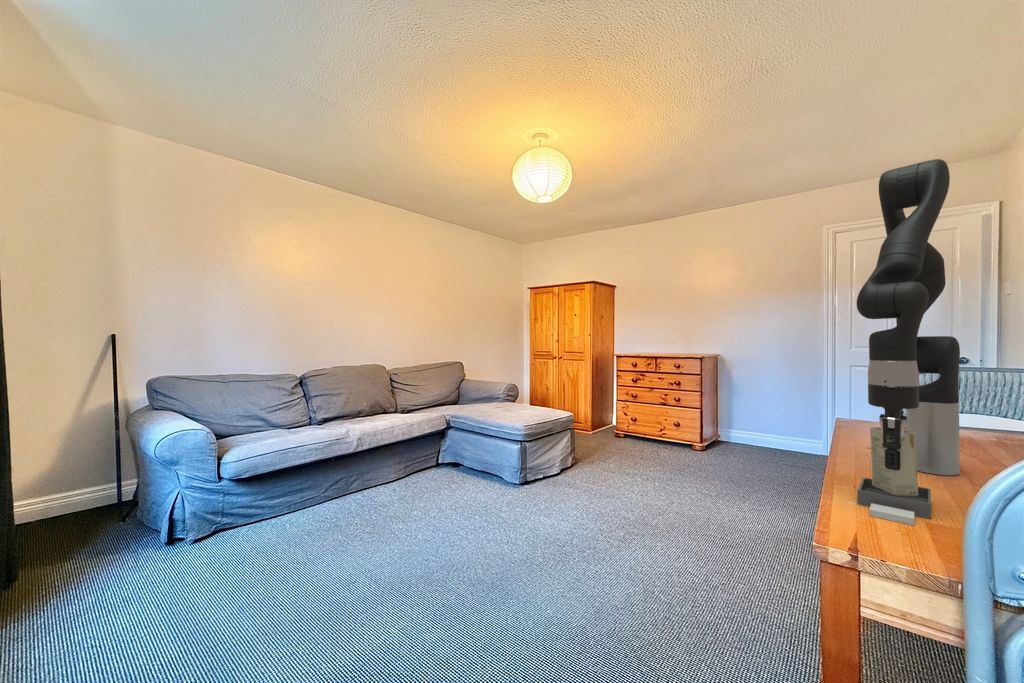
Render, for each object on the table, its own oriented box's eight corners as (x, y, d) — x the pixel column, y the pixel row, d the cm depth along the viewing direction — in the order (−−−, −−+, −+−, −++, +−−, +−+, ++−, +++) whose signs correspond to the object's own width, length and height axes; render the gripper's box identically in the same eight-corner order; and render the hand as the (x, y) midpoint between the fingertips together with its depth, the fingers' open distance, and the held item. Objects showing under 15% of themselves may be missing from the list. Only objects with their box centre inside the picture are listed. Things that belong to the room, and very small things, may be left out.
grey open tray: (863, 490, 90) (862, 477, 90) (930, 502, 83) (930, 488, 83) (854, 512, 79) (854, 497, 79) (931, 529, 72) (931, 513, 72)
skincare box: (919, 496, 80) (918, 433, 80) (894, 496, 80) (893, 433, 80) (892, 485, 86) (892, 426, 86) (870, 484, 87) (869, 426, 87)
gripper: (871, 379, 91) (872, 454, 91) (864, 384, 81) (865, 469, 81) (919, 381, 85) (920, 460, 85) (918, 387, 75) (919, 477, 75)
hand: (893, 464), depth 83 cm, fingers closed on skincare box, 7 cm apart
